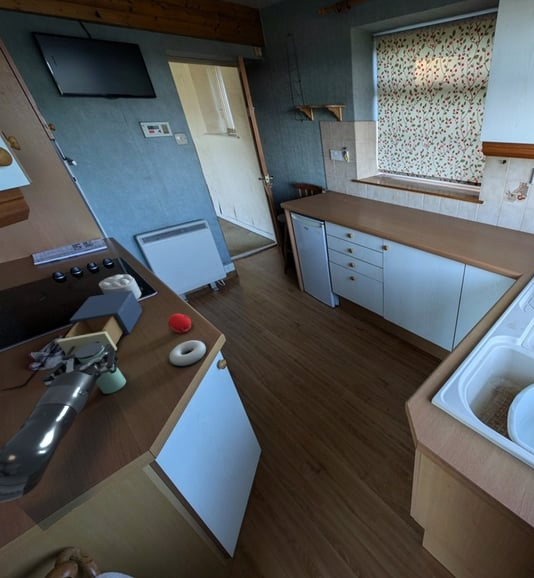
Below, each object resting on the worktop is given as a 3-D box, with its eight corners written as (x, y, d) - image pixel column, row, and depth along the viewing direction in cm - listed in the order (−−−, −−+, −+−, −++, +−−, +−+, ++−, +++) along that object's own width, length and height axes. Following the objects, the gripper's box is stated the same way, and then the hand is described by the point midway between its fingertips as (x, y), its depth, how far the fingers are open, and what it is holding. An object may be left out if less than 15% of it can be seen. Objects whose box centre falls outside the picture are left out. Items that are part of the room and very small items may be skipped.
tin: (98, 396, 81) (70, 359, 73) (106, 381, 85) (80, 345, 78) (122, 390, 82) (97, 354, 75) (129, 376, 87) (106, 340, 79)
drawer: (108, 363, 90) (96, 345, 86) (60, 373, 86) (45, 354, 82) (130, 325, 105) (120, 309, 101) (90, 332, 101) (78, 315, 98)
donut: (185, 372, 88) (214, 351, 96) (181, 364, 87) (210, 343, 94) (164, 362, 92) (193, 342, 100) (160, 354, 90) (190, 334, 98)
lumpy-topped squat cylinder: (132, 287, 129) (123, 269, 124) (147, 295, 123) (138, 277, 119) (103, 298, 121) (93, 280, 117) (118, 307, 116) (107, 289, 111)
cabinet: (129, 333, 103) (117, 312, 98) (84, 342, 99) (69, 320, 94) (142, 310, 114) (132, 290, 110) (102, 317, 111) (89, 296, 106)
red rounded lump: (198, 327, 106) (192, 314, 103) (182, 337, 102) (176, 323, 98) (183, 321, 109) (177, 308, 106) (167, 330, 104) (161, 317, 101)
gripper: (34, 418, 66) (71, 365, 79) (112, 399, 70) (134, 352, 84) (12, 396, 62) (55, 344, 75) (96, 378, 66) (122, 332, 80)
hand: (97, 349), depth 79 cm, fingers closed on tin, 5 cm apart
